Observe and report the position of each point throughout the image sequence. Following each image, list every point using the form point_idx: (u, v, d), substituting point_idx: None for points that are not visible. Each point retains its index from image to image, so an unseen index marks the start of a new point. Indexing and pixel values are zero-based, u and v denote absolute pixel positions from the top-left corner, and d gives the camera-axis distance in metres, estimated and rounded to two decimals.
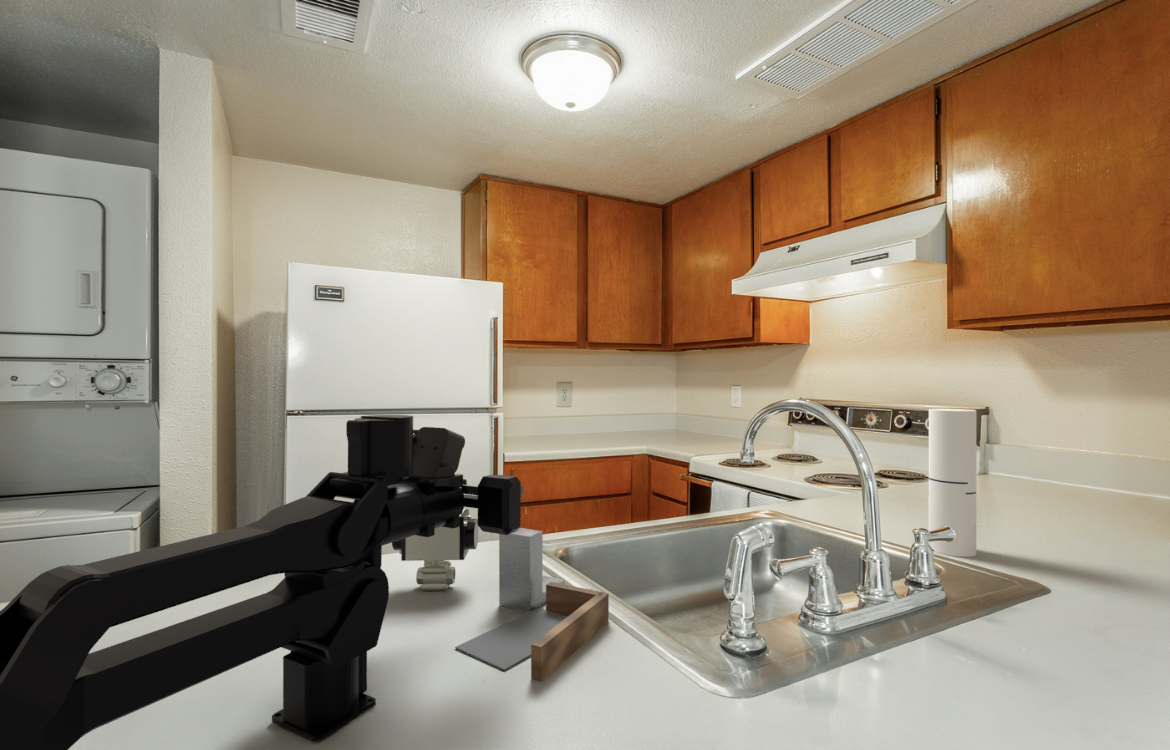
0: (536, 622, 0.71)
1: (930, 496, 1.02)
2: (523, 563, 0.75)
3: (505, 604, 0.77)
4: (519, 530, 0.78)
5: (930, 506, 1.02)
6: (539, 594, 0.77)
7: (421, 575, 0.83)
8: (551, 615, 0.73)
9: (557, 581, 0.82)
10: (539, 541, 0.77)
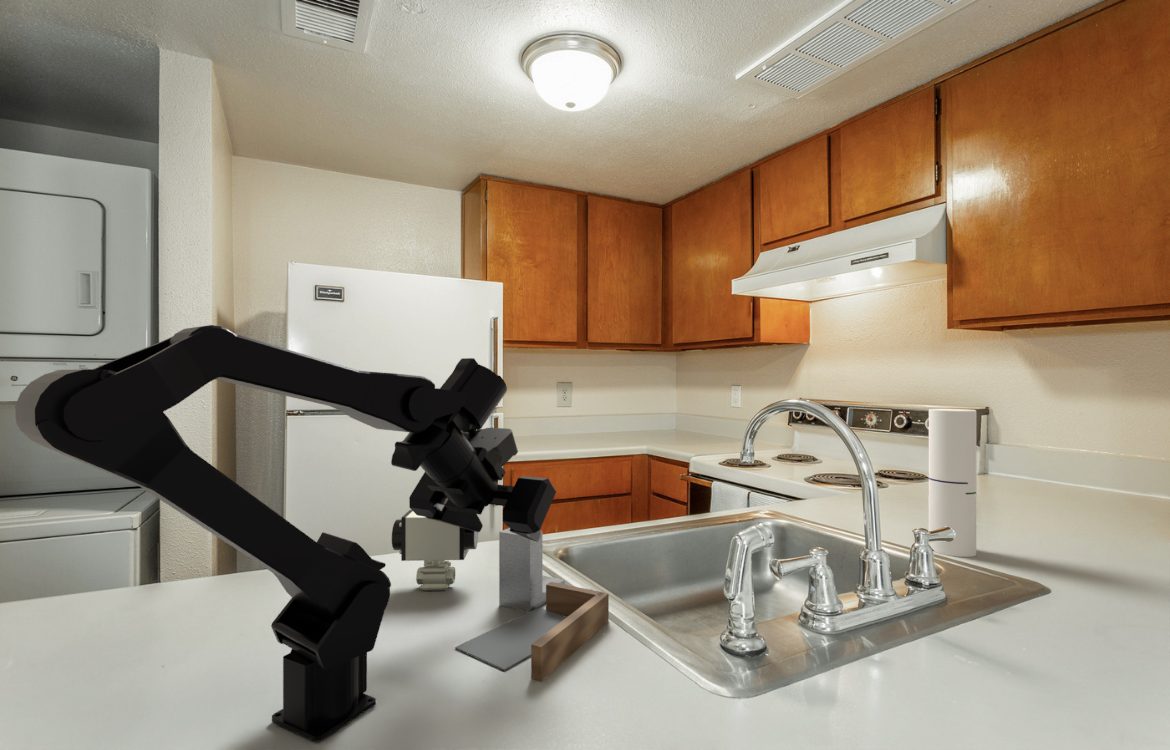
0: (536, 622, 0.71)
1: (930, 496, 1.02)
2: (523, 563, 0.75)
3: (505, 604, 0.77)
4: None
5: (930, 506, 1.02)
6: (539, 594, 0.77)
7: (421, 575, 0.83)
8: (551, 615, 0.73)
9: (557, 581, 0.82)
10: (539, 541, 0.77)
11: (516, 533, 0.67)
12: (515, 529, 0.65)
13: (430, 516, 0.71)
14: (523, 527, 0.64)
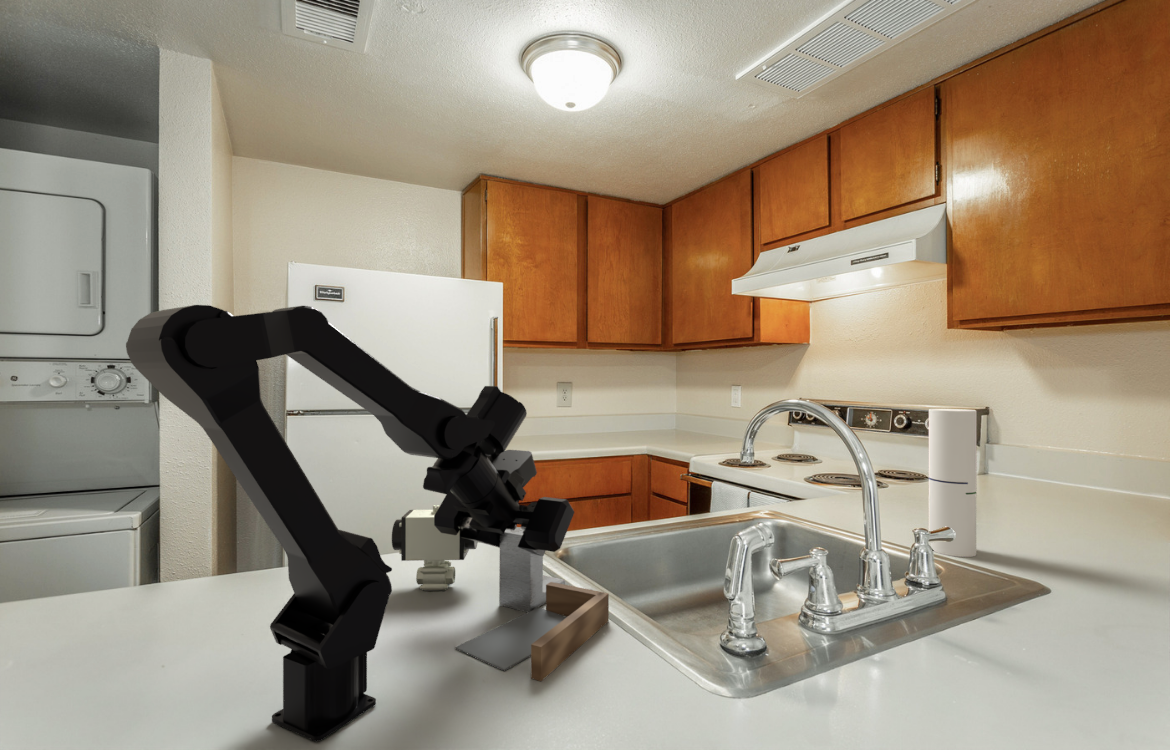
0: (536, 622, 0.71)
1: (930, 496, 1.02)
2: (523, 563, 0.75)
3: (505, 604, 0.77)
4: (520, 530, 0.78)
5: (930, 506, 1.02)
6: (539, 594, 0.77)
7: (421, 575, 0.83)
8: (551, 615, 0.73)
9: (557, 581, 0.82)
10: None
11: None
12: (536, 548, 0.69)
13: (454, 534, 0.75)
14: (544, 546, 0.68)
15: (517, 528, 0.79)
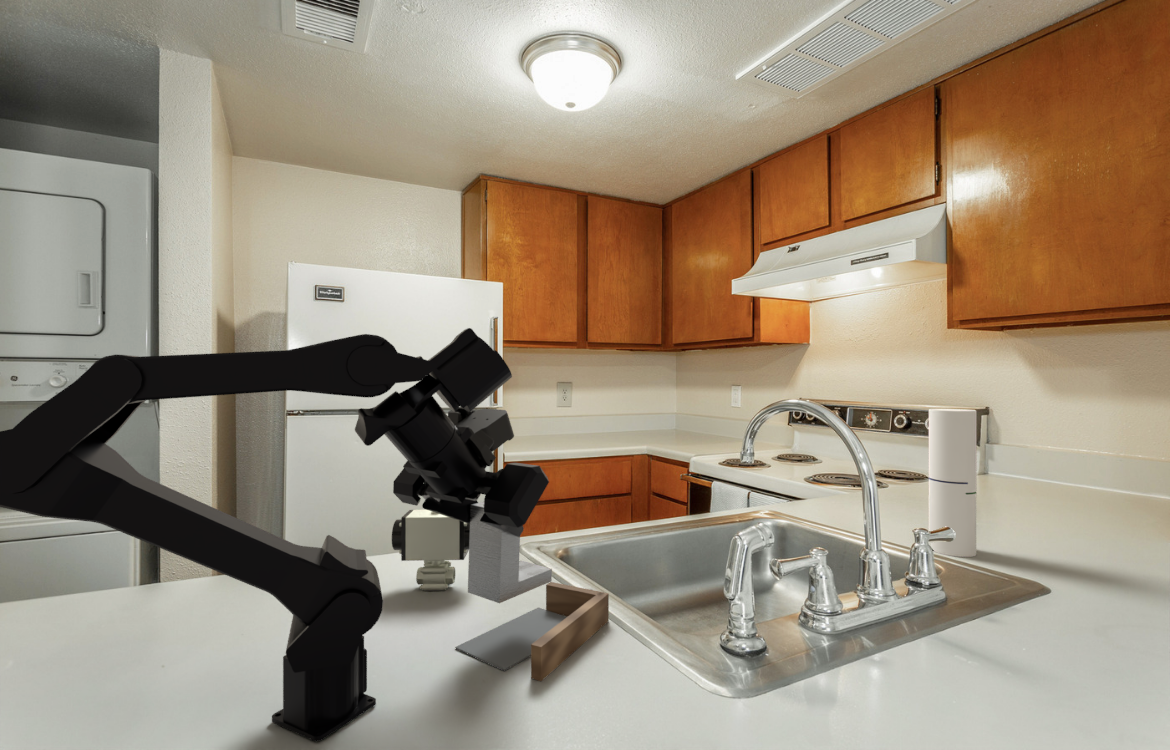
0: (536, 622, 0.71)
1: (930, 496, 1.02)
2: (494, 543, 0.63)
3: (474, 591, 0.64)
4: None
5: (930, 506, 1.02)
6: (514, 582, 0.64)
7: (421, 575, 0.83)
8: (551, 615, 0.73)
9: (542, 570, 0.69)
10: None
11: (489, 524, 0.59)
12: (498, 522, 0.56)
13: (415, 504, 0.64)
14: (505, 520, 0.55)
15: None
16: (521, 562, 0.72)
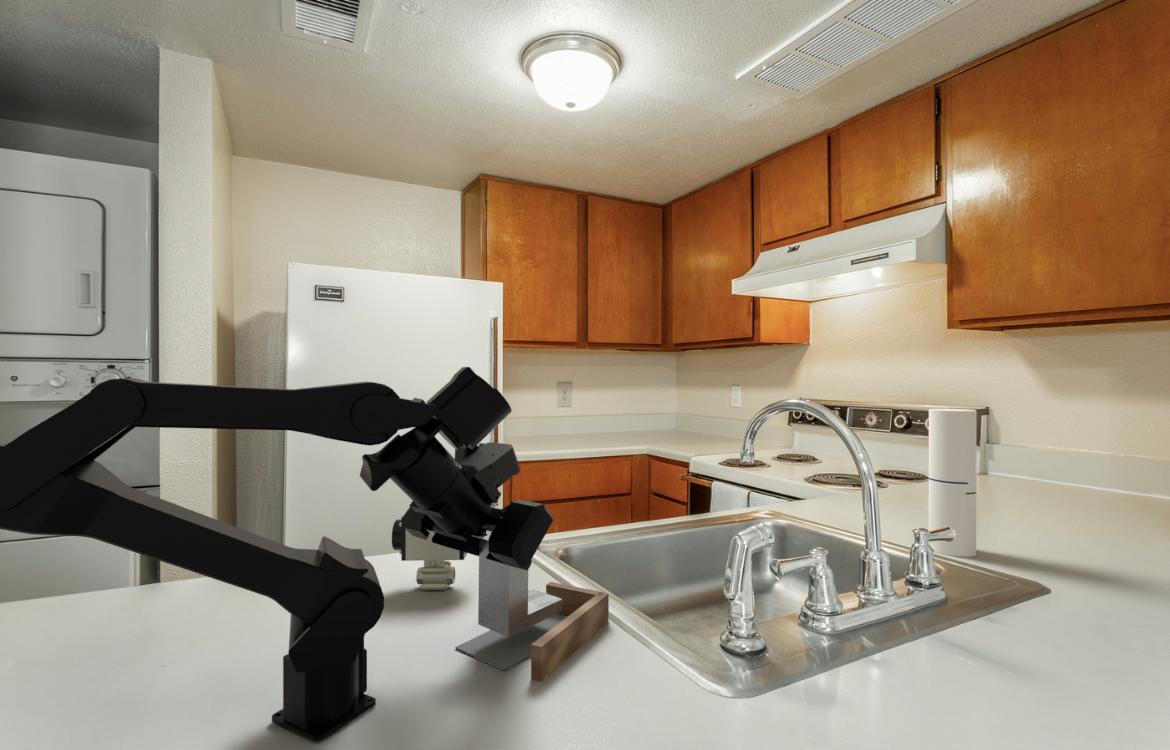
0: None
1: (930, 496, 1.02)
2: (502, 577, 0.63)
3: (484, 623, 0.65)
4: None
5: (930, 506, 1.02)
6: (523, 615, 0.64)
7: (421, 575, 0.83)
8: None
9: (553, 600, 0.69)
10: None
11: None
12: (503, 561, 0.56)
13: (424, 538, 0.64)
14: (509, 560, 0.55)
15: None
16: (533, 591, 0.72)
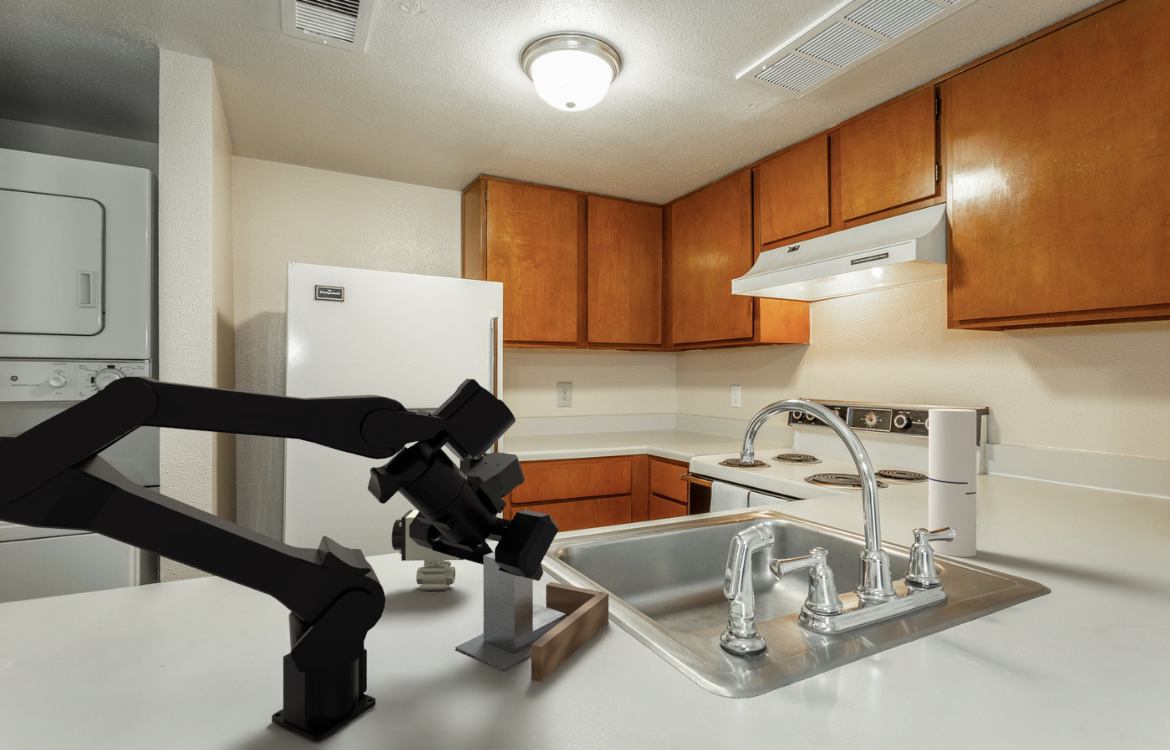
0: None
1: (930, 496, 1.02)
2: (507, 594, 0.64)
3: (489, 641, 0.66)
4: None
5: (930, 506, 1.02)
6: (528, 632, 0.65)
7: (421, 575, 0.83)
8: None
9: (556, 615, 0.70)
10: None
11: None
12: (509, 571, 0.57)
13: (430, 547, 0.65)
14: (516, 570, 0.56)
15: None
16: (536, 606, 0.72)
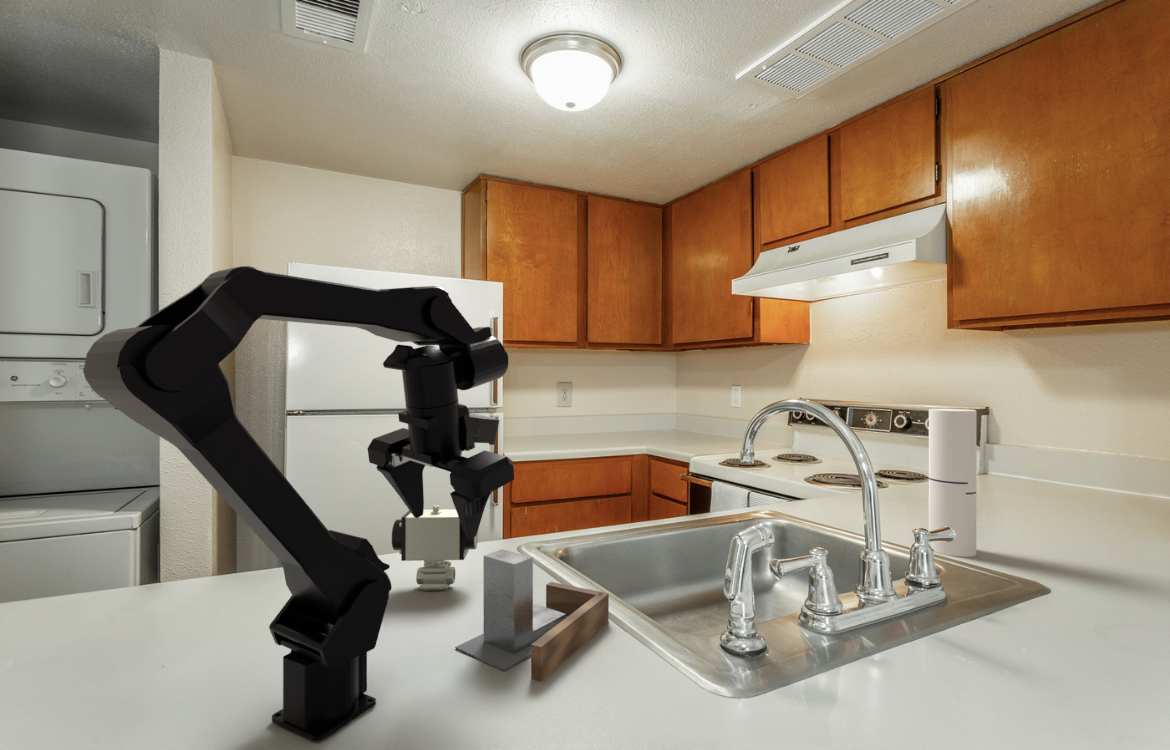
0: None
1: (930, 496, 1.02)
2: (507, 595, 0.64)
3: (489, 641, 0.66)
4: (507, 555, 0.66)
5: (930, 506, 1.02)
6: (528, 632, 0.65)
7: (421, 575, 0.83)
8: None
9: (556, 615, 0.70)
10: (528, 569, 0.65)
11: (455, 503, 0.61)
12: (457, 490, 0.60)
13: (381, 465, 0.67)
14: (466, 487, 0.59)
15: (505, 552, 0.67)
16: (536, 606, 0.72)
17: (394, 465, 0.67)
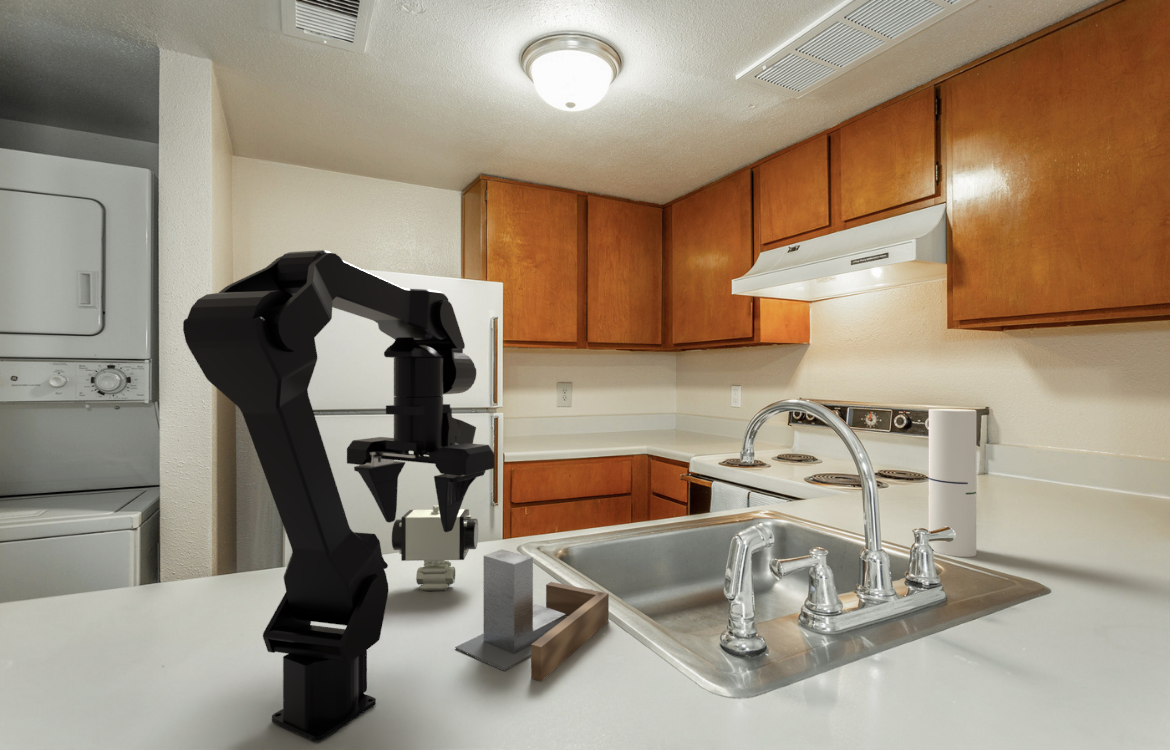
0: None
1: (930, 496, 1.02)
2: (507, 595, 0.64)
3: (489, 641, 0.66)
4: (507, 555, 0.66)
5: (930, 506, 1.02)
6: (528, 632, 0.65)
7: (421, 575, 0.83)
8: None
9: (556, 615, 0.70)
10: (528, 569, 0.65)
11: (437, 487, 0.64)
12: (441, 471, 0.63)
13: (360, 463, 0.69)
14: (452, 465, 0.62)
15: (505, 552, 0.67)
16: (536, 606, 0.72)
17: (373, 464, 0.69)
